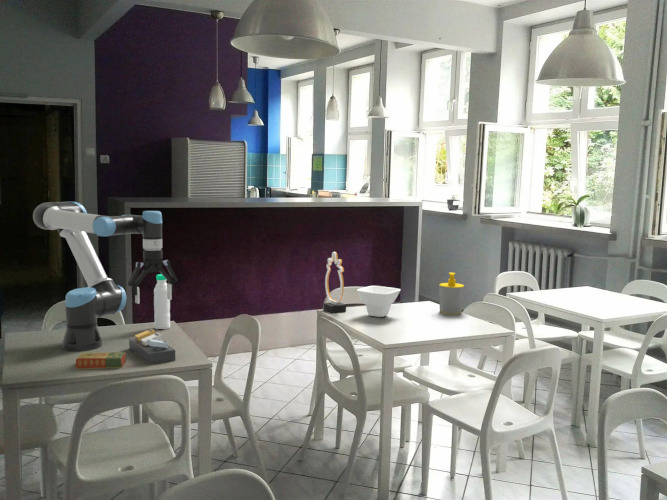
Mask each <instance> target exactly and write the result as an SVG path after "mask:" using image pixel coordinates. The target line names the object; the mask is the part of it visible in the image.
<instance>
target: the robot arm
mask: <svg viewBox="0 0 667 500" xmlns="http://www.w3.org/2000/svg"><path fill="white" fill-rule="evenodd" d="M32 219H33V222H34V224H35V225H36V226H37V227H38V228H40V229H43V230H48V231H49V230H51V231H54V230H57V231H58V234H59V236H60V237H62V238H65V240H66V242H67V244H68V246H69V248H70V250H71V252H72V255H73V256H74V259H75V261H76V263H77V265H78V268H79V270H80V272H81V274H82V276H83V278H84V280H85V282H86V285H87V286H86V287H81V288H80V287H78V288H74V289H72V290H69V291H68V292H67V293H66V294H65V302H64V305H65V322H66V325H65V326H66V328H65V332H64V335H63V339H62V342H61V345H62V349H63V350H64V351H70V352H72V351H73V352H81V351H82V352H83V351H90V350H95V349H98V348H100V347H102V346H103V339H102V336H101V335H102V334H101V333H100V330H99V327H98V318H101V317H105V316H110V315H115V314H116V313H119V312H121V311H122V310H124V308H125V307H126V302H127V294H126V291H125V289H124V288H123V286H120V285H119V284H118V285H117V284H116V283H115V282H114V280H113V279H112V278H110V277H108V275H107V274H106V271H105V269H104V267H103V265H102V263H101V260H100V259H99V256H98V255H97V252H96V251H95V248H94V245H93V244H92V242H91V240H90V237H89V236H88V233H89V234H94V235H95V234H96V236H98V237H111V236H112V237H113V236H120V235H131V234H135V235H137V234H138V235H142V249H143V251H142V256H143V257H142V259H143V260H142V262H138V261H136V262H135V263H134V264H135V266H134V269H133V271H132V274H131V275H130V278H129V280H128V282H127V286H128V287H132V295H133V296H134V303H135V304H137V305H138V304H140V301H141V300H140V296H141V295H140V287H139V285H140V284H141V282H142V281H143V280H144V278H145V277H146V276H147V275H148V274H149V273H150V274H152V273H158V272H159V273H160V274H162V275H163V276H164V278H165V279H166V283H167V282H168V283H167V299H169V300H170V301H172V300H173V299H172V297H173V296H172V295H173V294H172V293H173V292H174V284H175V283H178V281H179V279H178V277H177V276H176V272H175V271H174V269H173V267H172V265H171V261H170V260H169V259H165V260H163V258H164V257H163V255H164V254H163V215H162V212H161V211H160V210H143V211H142V215H137V214H122V215H114V216H113V215H111V216H109V215H102V214H101V215H100V214H95V213H94V214H93V213H88V212H87V210H86V208H85V207H84V205H83V204H81V203H79V202H77V201H70V200H69V201H54V202H53V201H50V202H49V201H48V202H42V203H40V204H39V205H37V206H36V207H35V208H34V210H33V213H32ZM163 266H165V267H166V269H167V272H168V273H167V272H166V271H165V270H164V268H163ZM142 267H143V269H142V271H141V268H142ZM140 271H141V273H140ZM139 273H140V274H139ZM168 274H169V275H168Z"/></svg>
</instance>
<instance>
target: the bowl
mask: <svg viewBox="0 0 667 500" xmlns="http://www.w3.org/2000/svg"><path fill="white" fill-rule="evenodd" d="M400 292H401V288H396V287H390V286H389V287H388V286H382V285H369V286H364V287H360V288H358V289H357V290H356V293H357V294H358V296H359V298H360V300H361V302H362V303H363V304H364V305H365V307H366V312H367V315H368V316H371V317H377V318H383V317H386V316H388V315H389V313H390V310H391V305H392V304H394V302H395V301H396V299H397V298H398V296H399V294H400Z"/></svg>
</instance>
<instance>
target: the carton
mask: <svg viewBox="0 0 667 500" xmlns="http://www.w3.org/2000/svg"><path fill="white" fill-rule="evenodd" d="M126 362H127V353H126V352H125V351H120V352H119V351H117V352H81V353H80V354H78V356H77V357H76V359H75V369H76V370H85V369H86V370H89V369H90V370H91V369H94V370H95V369H122V368H123V367H124V365H125V364H126Z"/></svg>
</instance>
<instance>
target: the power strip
mask: <svg viewBox="0 0 667 500" xmlns="http://www.w3.org/2000/svg"><path fill="white" fill-rule="evenodd" d="M128 341H129V342H128V345H129V348H128V349H129V350H130V351H131V352H132V353H135V354H136V355H137V356H138V357H139V358H141V359H142V360H143V361H144V362H146V363H147V364H148V365H154V364H160V363H167V362H173V361H174V362H175V361H176V349H175V348H173V347H171V346H170V345H168V348H163V347H155V346H150V345H146V346H145V345H143V344H142V342H141V341H138V340H136V338H135V337H134V338H129V339H128ZM160 341H162V339H161V340H160Z"/></svg>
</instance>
